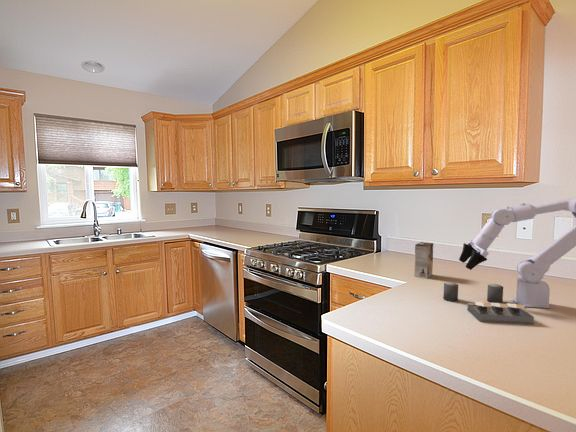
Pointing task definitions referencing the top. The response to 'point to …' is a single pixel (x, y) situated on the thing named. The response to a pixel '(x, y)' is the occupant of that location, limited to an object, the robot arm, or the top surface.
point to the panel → (500, 314)
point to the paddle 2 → (516, 305)
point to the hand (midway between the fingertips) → (464, 264)
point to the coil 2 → (495, 293)
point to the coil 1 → (450, 292)
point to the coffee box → (423, 260)
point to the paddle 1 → (483, 304)
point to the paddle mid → (499, 305)
